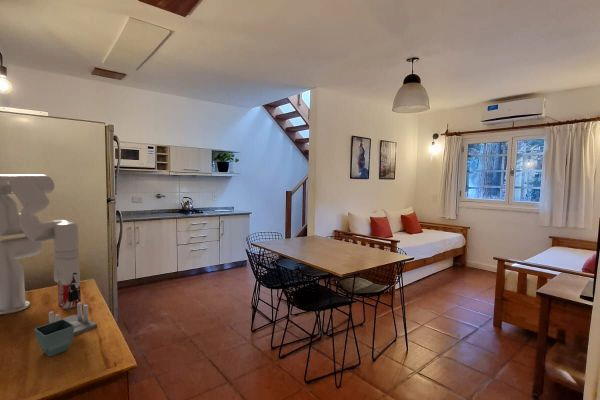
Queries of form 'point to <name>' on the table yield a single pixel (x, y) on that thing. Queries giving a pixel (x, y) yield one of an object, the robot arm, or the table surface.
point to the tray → (76, 319)
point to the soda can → (65, 296)
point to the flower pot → (54, 337)
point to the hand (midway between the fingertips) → (68, 298)
